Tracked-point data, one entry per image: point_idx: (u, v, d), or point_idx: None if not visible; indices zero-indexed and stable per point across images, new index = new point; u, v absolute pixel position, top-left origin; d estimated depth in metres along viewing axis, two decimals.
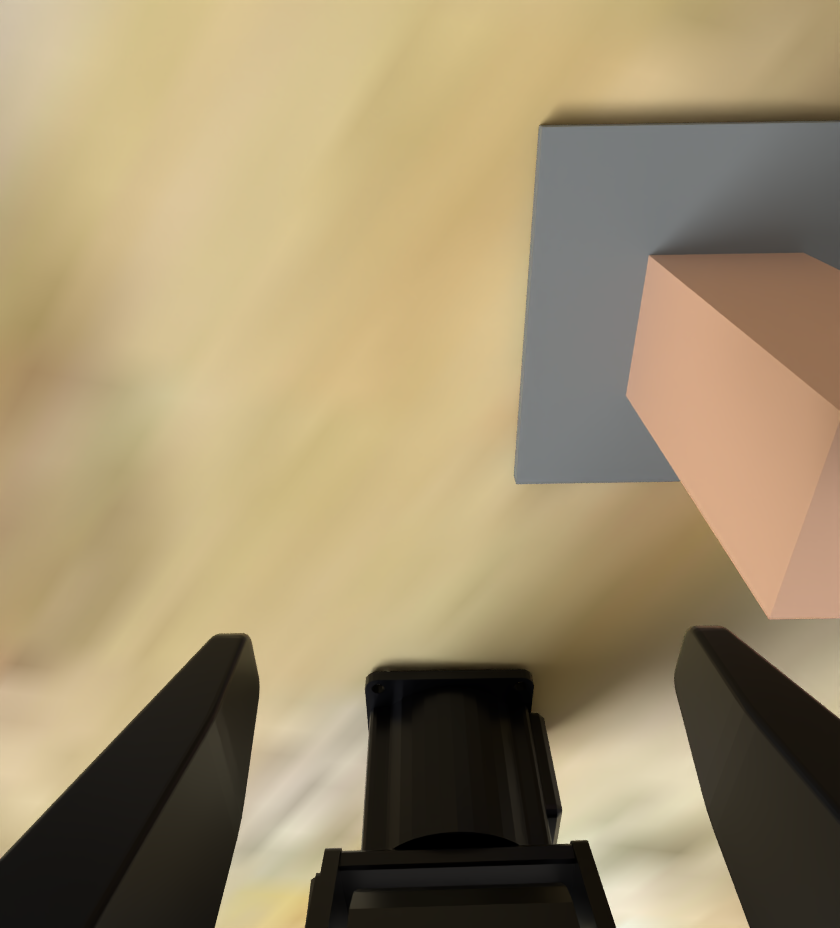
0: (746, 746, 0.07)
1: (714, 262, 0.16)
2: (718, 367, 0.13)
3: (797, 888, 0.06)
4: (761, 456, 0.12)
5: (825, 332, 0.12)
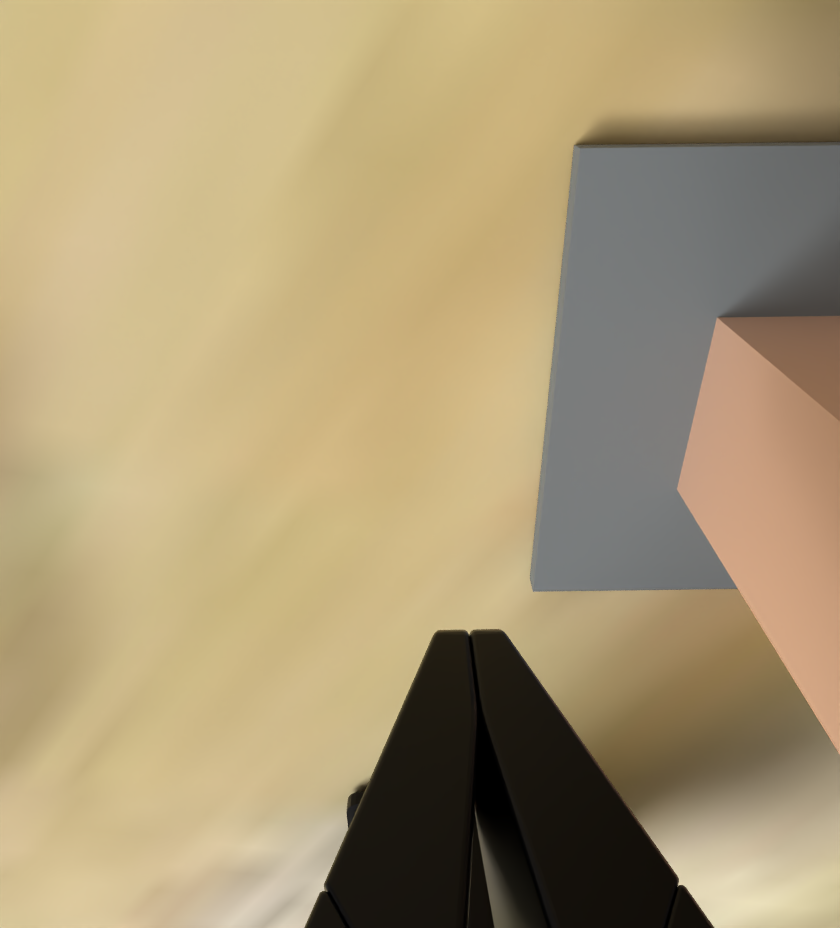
0: (483, 750, 0.07)
1: (809, 331, 0.12)
2: None
3: (507, 893, 0.06)
4: None
5: None
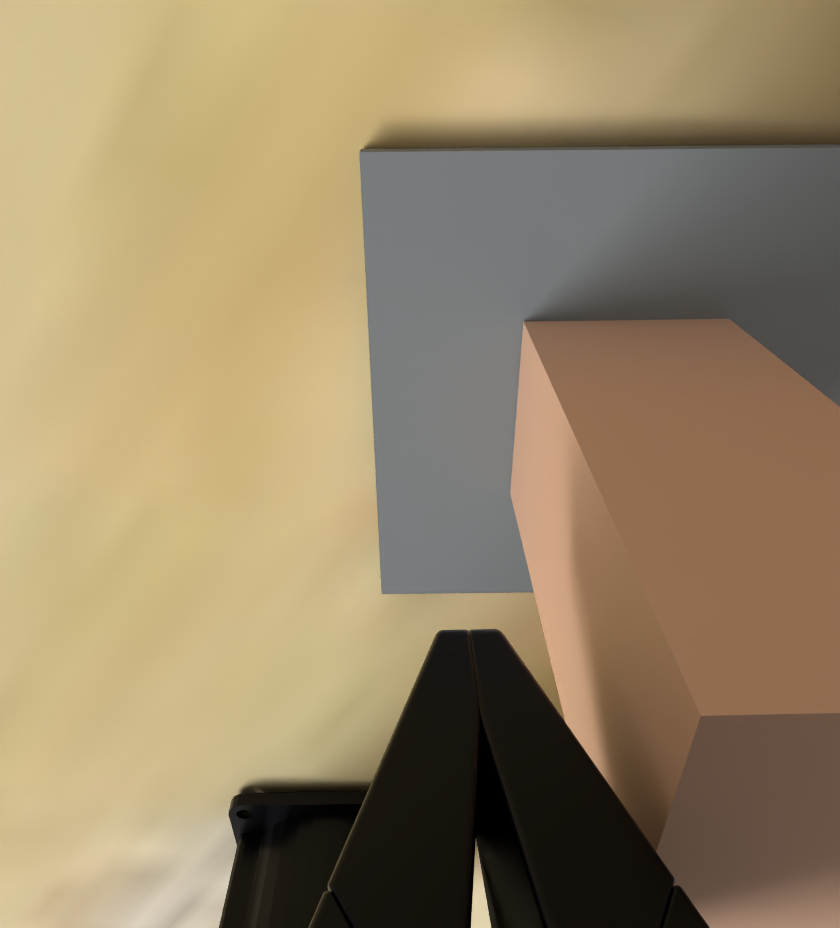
0: (479, 750, 0.07)
1: (605, 335, 0.12)
2: (574, 516, 0.09)
3: (503, 892, 0.06)
4: (613, 690, 0.07)
5: (721, 484, 0.08)
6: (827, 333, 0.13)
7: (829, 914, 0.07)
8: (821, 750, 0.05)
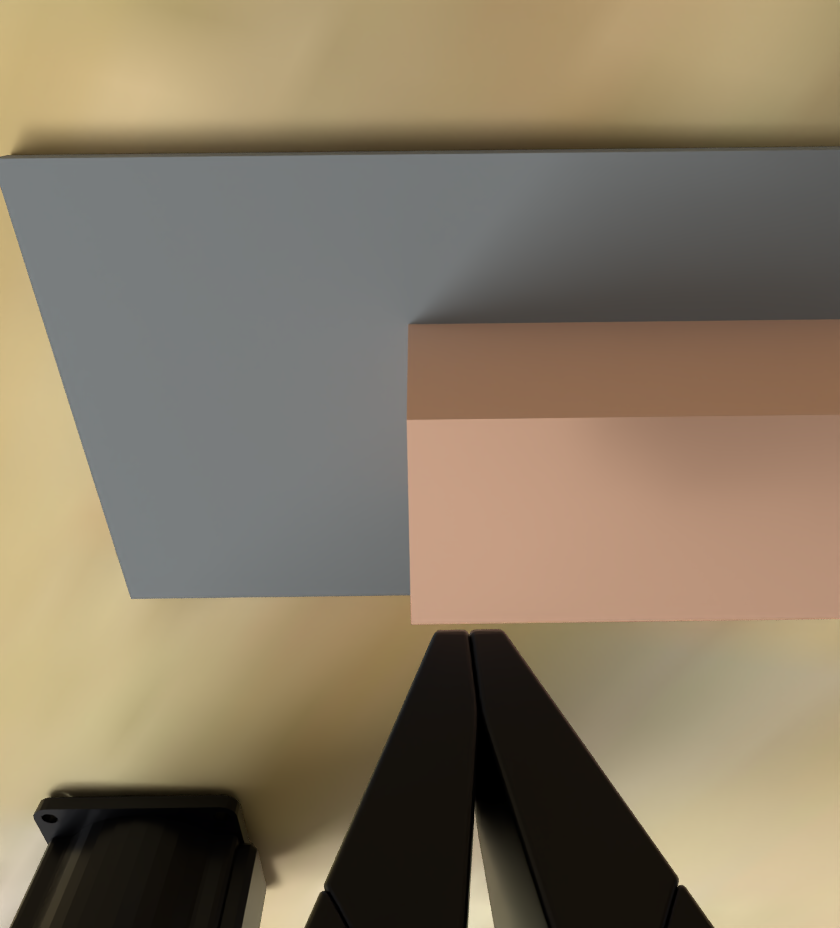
0: (483, 750, 0.07)
1: (458, 379, 0.11)
2: (746, 472, 0.10)
3: (507, 892, 0.06)
4: None
5: (765, 373, 0.11)
6: None
7: None
8: None
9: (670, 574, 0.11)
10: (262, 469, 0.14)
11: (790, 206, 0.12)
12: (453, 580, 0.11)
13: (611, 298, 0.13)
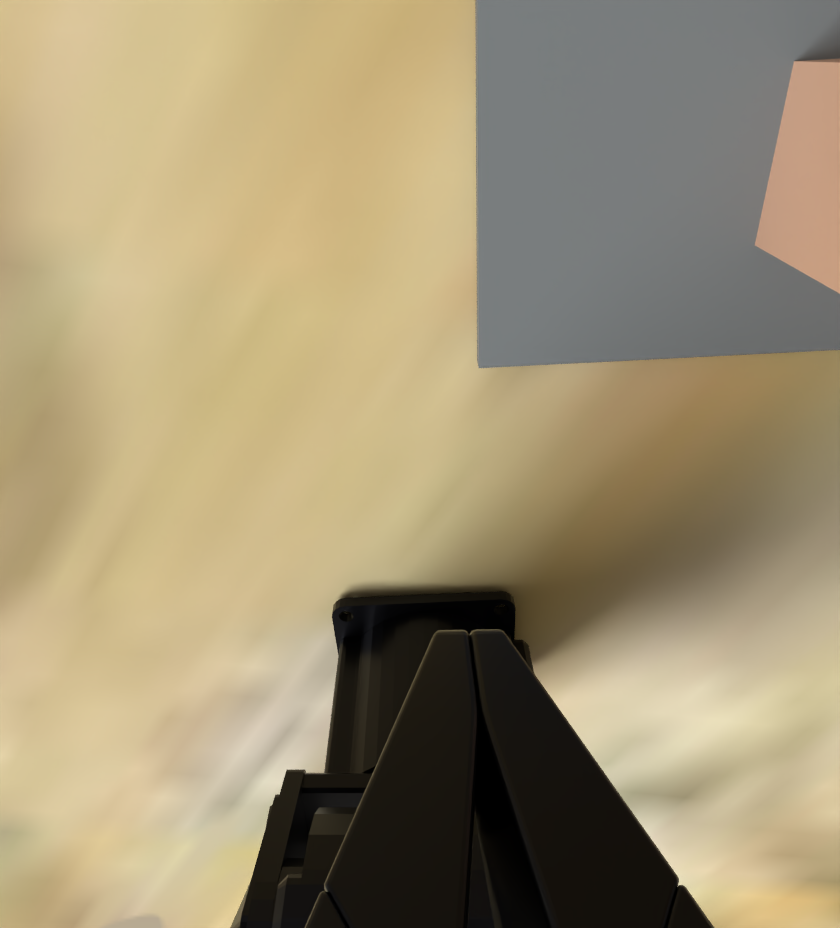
0: (483, 750, 0.07)
1: None
2: None
3: (507, 893, 0.06)
4: None
5: None
6: None
7: None
8: None
9: None
10: (629, 222, 0.16)
11: None
12: None
13: None
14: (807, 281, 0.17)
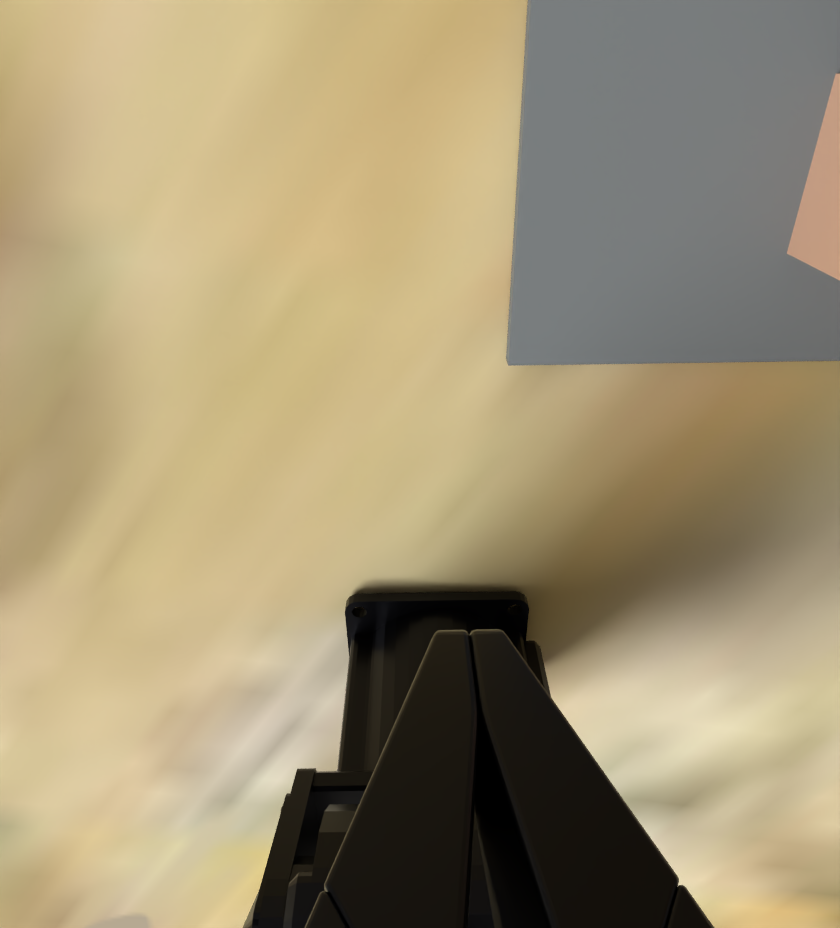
0: (483, 750, 0.07)
1: None
2: None
3: (507, 892, 0.06)
4: None
5: None
6: None
7: None
8: None
9: None
10: (665, 226, 0.17)
11: None
12: None
13: None
14: (835, 291, 0.18)
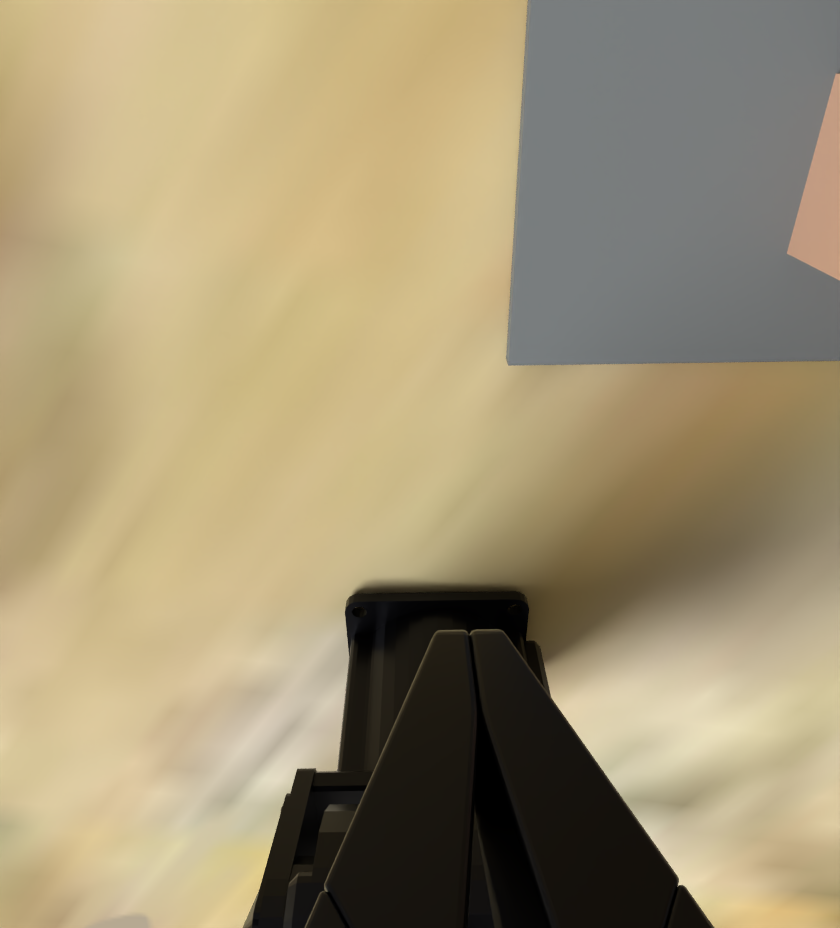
0: (483, 750, 0.07)
1: None
2: None
3: (507, 893, 0.06)
4: None
5: None
6: None
7: None
8: None
9: None
10: (666, 226, 0.17)
11: None
12: None
13: None
14: (836, 291, 0.18)
